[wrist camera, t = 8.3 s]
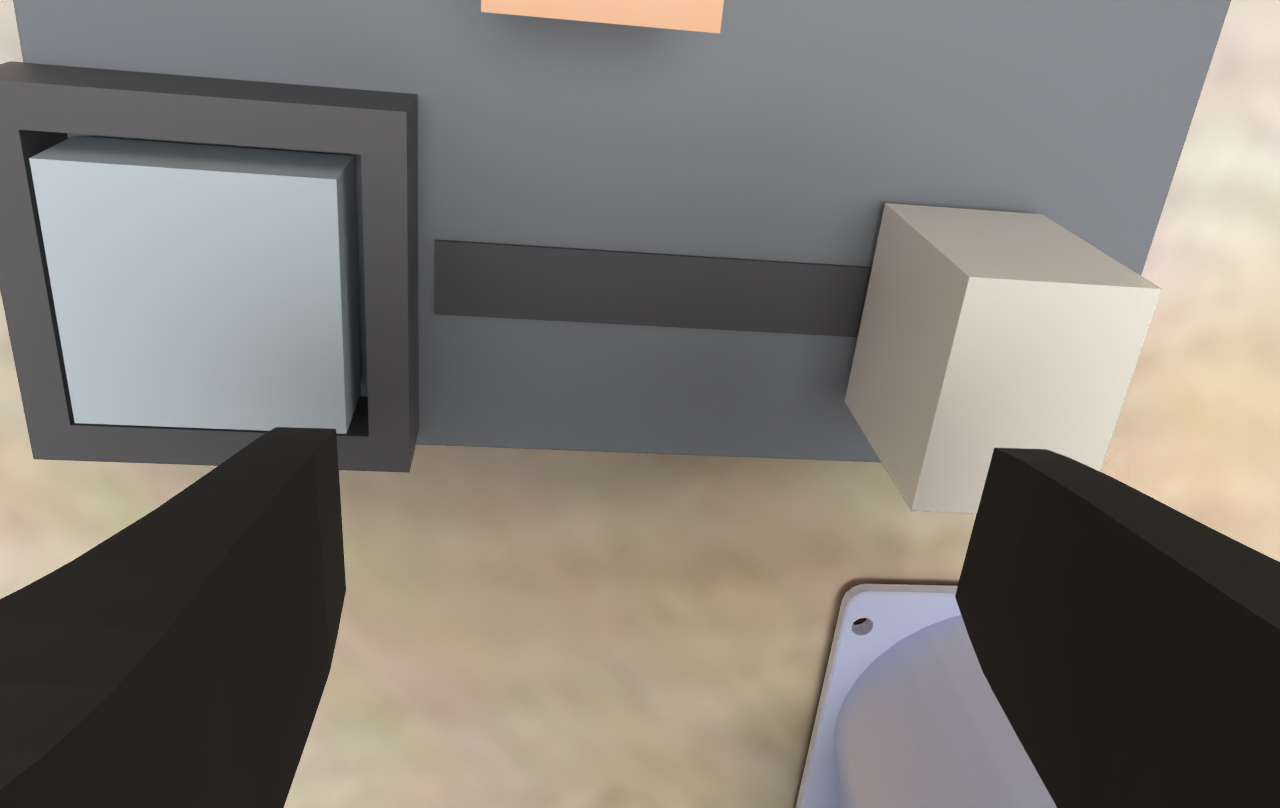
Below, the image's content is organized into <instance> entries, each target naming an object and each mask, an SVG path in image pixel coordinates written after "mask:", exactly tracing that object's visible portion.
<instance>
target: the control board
mask: <svg viewBox="0 0 1280 808" xmlns="http://www.w3.org/2000/svg"><path fill="white" fill-rule="evenodd" d="M13 2H14V8H15V14H16V20H17V26H18V32H19V38H20V44H21V50H22V56H23V62H24V63H22V62H7V63H4V64H1V65H0V290H1V295H2V300H3V305H4V310H5V315H6V320H7V325H8V331H9V336H10V341H11V346H12V351H13V356H14V361H15V366H16V371H17V377H18V382H19V387H20V392H21V397H22V402H23V407H24V412H25V417H26V423H27V428H28V433H29V438H30V443H31V448H32V453H33V458H34V459H45V460H74V461H102V462H130V463H158V464H187V465H215V466H219V465H220V464H222V463H223V462H225V461H226V460H227V459H229V458H230V457H232V456H233V455H234V454H236V453H237V452H239V451H240V450H242V449H243V448H244V447H246V446H247V445H249V444H250V443H252V442H253V441H254V440H256V439H257V438H259V437H260V436H262V435H264V434H265V433H267V432H268V431H262V430H237V429H212V428H186V427H161V426H136V425H110V424H85V423H75V422H74V416H73V410H72V404H71V399H70V393H69V387H68V381H67V375H66V370H65V364H64V358H63V352H62V346H61V341H60V335H59V329H58V323H57V317H56V311H55V306H54V300H53V294H52V288H51V282H50V277H49V271H48V265H47V259H46V253H45V248H44V242H43V236H42V230H41V224H40V218H39V213H38V207H37V201H36V195H35V189H34V184H33V178H32V172H31V166H30V160H29V158H31V157H33V156H35V155H37V154H39V153H41V152H43V151H45V150H47V149H49V148H51V147H52V146H54V145H56V144H58V143H60V142H62V141H64V140H66V139H68V138H70V137H72V136H85V137H99V138H113V139H127V140H141V141H155V142H168V143H182V144H196V145H210V146H224V147H238V148H252V149H265V150H279V151H293V152H307V153H321V154H335V155H349V156H354V182H355V214H356V246H357V278H358V310H359V343H360V375H361V395H360V398H359V400H358V403H357V406H356V409H355V411H354V414H353V417H352V420H351V422H350V425H349V428H348V431H347V433H346V434H338V433H336V436H337V452H338V469H339V470H357V471H385V472H410V467H411V463H412V458H413V454H414V450H415V445H416V444H421V445H447V446H473V447H499V448H525V449H551V450H576V451H602V452H628V453H654V454H680V455H706V456H732V457H757V458H783V459H809V460H835V461H861V462H881V461H880V459H879V457H878V456H877V454H876V452H875V451H874V449H873V448H872V446H871V444H870V443H869V441H868V439H867V438H866V436H865V434H864V433H863V431H862V429H861V428H860V426H859V425H858V423H857V421H856V420H855V418H854V416H853V415H852V413H851V411H850V410H849V408H848V406H847V405H846V403H845V397H846V392H847V388H848V383H849V378H850V373H851V368H852V363H853V358H854V353H855V348H856V343H857V338H858V334H859V329H860V324H861V319H862V314H863V309H864V304H865V299H866V294H867V289H868V284H869V280H870V275H871V270H872V265H873V260H874V255H875V250H876V245H877V240H878V235H879V230H880V226H881V221H882V216H883V211H884V206H885V203H892V204H906V205H920V206H934V207H948V208H962V209H976V210H990V211H1004V212H1018V213H1032V214H1043V215H1044V216H1046V217H1047V218H1049V219H1051V220H1052V221H1054V222H1055V223H1057V224H1059V225H1060V226H1062V227H1063V228H1065V229H1067V230H1068V231H1070V232H1071V233H1073V234H1075V235H1076V236H1078V237H1079V238H1081V239H1083V240H1084V241H1086V242H1087V243H1089V244H1091V245H1092V246H1094V247H1095V248H1097V249H1099V250H1100V251H1102V252H1103V253H1105V254H1107V255H1108V256H1110V257H1111V258H1113V259H1115V260H1116V261H1118V262H1119V263H1121V264H1123V265H1124V266H1126V267H1127V268H1129V269H1131V270H1132V271H1134V272H1135V273H1137V274H1139V275H1140V276H1141V274H1142V271H1143V268H1144V265H1145V261H1146V258H1147V255H1148V252H1149V249H1150V246H1151V243H1152V240H1153V237H1154V234H1155V231H1156V228H1157V225H1158V222H1159V219H1160V216H1161V213H1162V210H1163V207H1164V203H1165V200H1166V197H1167V194H1168V191H1169V188H1170V185H1171V182H1172V179H1173V176H1174V173H1175V170H1176V167H1177V164H1178V161H1179V158H1180V155H1181V152H1182V148H1183V145H1184V142H1185V139H1186V136H1187V133H1188V130H1189V127H1190V124H1191V121H1192V118H1193V115H1194V112H1195V109H1196V106H1197V103H1198V100H1199V97H1200V94H1201V90H1202V87H1203V84H1204V81H1205V78H1206V75H1207V72H1208V69H1209V66H1210V63H1211V60H1212V57H1213V54H1214V51H1215V48H1216V45H1217V42H1218V39H1219V36H1220V32H1221V29H1222V26H1223V23H1224V20H1225V17H1226V14H1227V11H1228V8H1229V5H1230V2H1231V0H724V4H723V12H722V21H721V29H720V33H709V32H698V31H687V30H676V29H665V28H654V27H643V26H632V25H621V24H609V23H598V22H587V21H576V20H565V19H554V18H543V17H532V16H521V15H510V14H499V13H488V12H481V0H13Z"/></svg>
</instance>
